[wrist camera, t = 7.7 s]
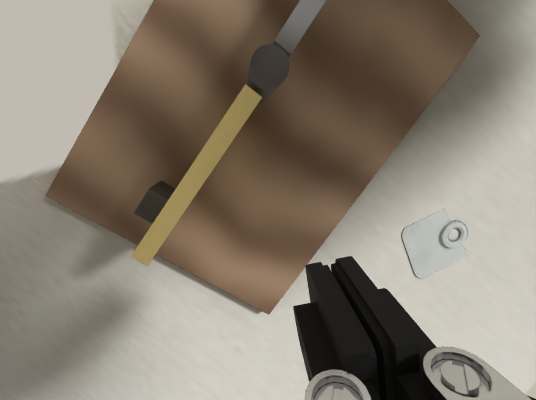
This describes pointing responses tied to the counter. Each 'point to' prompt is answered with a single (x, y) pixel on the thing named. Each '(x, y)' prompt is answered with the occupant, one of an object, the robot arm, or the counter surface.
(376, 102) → the hinge base
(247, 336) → the counter surface
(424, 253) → the mounting bracket
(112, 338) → the counter surface
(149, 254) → the bar
